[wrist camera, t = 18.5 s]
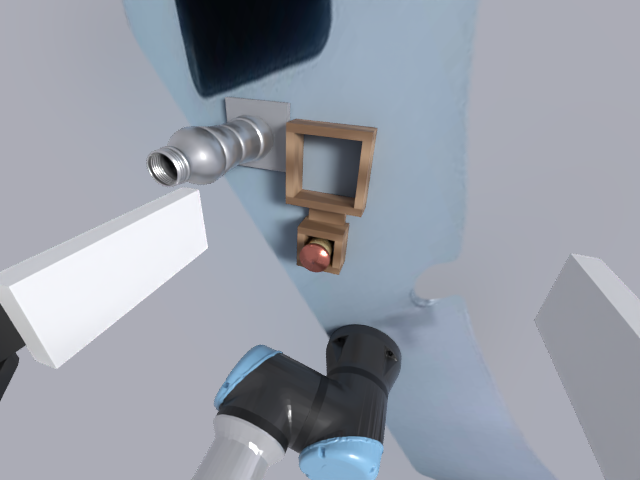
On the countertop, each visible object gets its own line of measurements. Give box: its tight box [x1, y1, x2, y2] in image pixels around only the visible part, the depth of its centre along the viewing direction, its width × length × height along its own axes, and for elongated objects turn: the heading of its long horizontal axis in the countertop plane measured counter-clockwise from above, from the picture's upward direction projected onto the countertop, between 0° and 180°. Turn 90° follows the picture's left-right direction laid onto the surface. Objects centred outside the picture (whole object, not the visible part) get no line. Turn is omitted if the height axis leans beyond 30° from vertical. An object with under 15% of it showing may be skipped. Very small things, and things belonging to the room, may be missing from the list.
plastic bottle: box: [147, 115, 273, 187], centre depth 38 cm, size 6×7×20 cm
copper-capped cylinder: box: [299, 237, 335, 272], centre depth 49 cm, size 5×5×7 cm
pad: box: [225, 97, 290, 172], centre depth 47 cm, size 10×10×1 cm
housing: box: [286, 119, 377, 275], centre depth 47 cm, size 23×12×4 cm, turn 176°
